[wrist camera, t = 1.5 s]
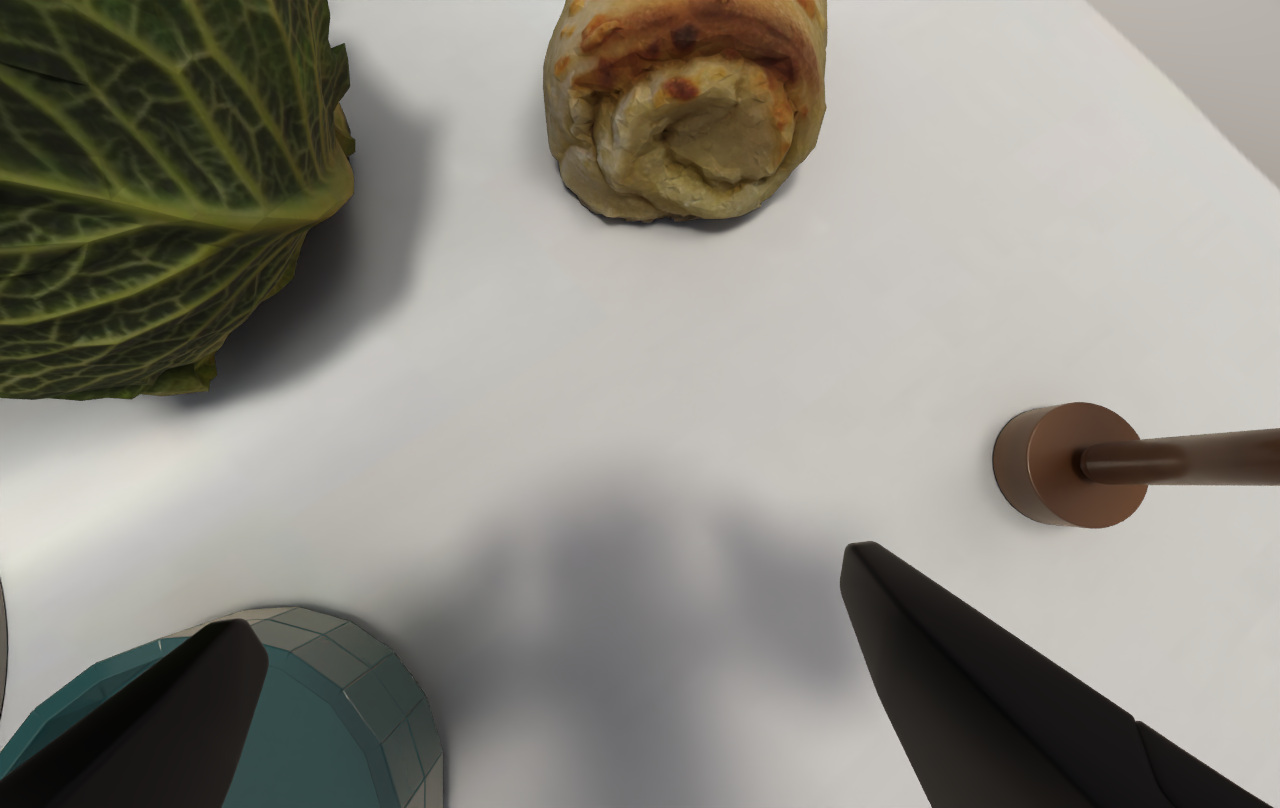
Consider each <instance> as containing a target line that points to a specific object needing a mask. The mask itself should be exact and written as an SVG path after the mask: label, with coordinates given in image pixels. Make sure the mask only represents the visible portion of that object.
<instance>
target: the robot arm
mask: <svg viewBox="0 0 1280 808" xmlns="http://www.w3.org/2000/svg"><path fill="white" fill-rule="evenodd" d="M840 590H841V594H842V598H843V601H844V603H845V606H846V609H847V612H848V614H849V617H850V620H851V623H852V625H853V628H854V631H855V634H856V636H857V639H858V642H859V645H860V648H861V650H862V653H863V656H864V659H865V661H866V664H867V667H868V670H869V672H870V675H871V678H872V680H873V683H874V686H875V688H876V691H877V693H878V696H879V698H880V700H881V702H882V704H883V707H884V709H885V711H886V713H887V715H888V717H889V719H890V721H891V724H892V726H893V728H894V730H895V732H896V734H897V736H898V738H899V740H900V742H901V744H902V746H903V748H904V750H905V753H906V755H907V757H908V759H909V761H910V763H911V765H912V767H913V769H914V771H915V773H916V775H917V777H918V780H919V782H920V784H921V786H922V788H923V790H924V792H925V794H926V796H927V798H928V800H929V802H930V804H931V806H932V808H1273V807H1272V806H1270V805H1268V804H1267V803H1265V802H1264V801H1262V800H1260V799H1259V798H1257V797H1256V796H1254V795H1252V794H1251V793H1249V792H1247V791H1246V790H1244V789H1243V788H1241V787H1239V786H1238V785H1236V784H1235V783H1233V782H1232V781H1230V780H1229V779H1227V778H1226V777H1224V776H1223V775H1221V774H1220V773H1218V772H1217V771H1215V770H1214V769H1212V768H1210V767H1209V766H1207V765H1206V764H1204V763H1203V762H1201V761H1200V760H1198V759H1197V758H1195V757H1194V756H1192V755H1191V754H1189V753H1188V752H1186V751H1185V750H1183V749H1182V748H1180V747H1178V746H1177V745H1176V744H1174V743H1173V742H1171V741H1170V740H1168V739H1167V738H1165V737H1164V736H1162V735H1161V734H1159V733H1158V732H1156V731H1155V730H1153V729H1152V728H1150V727H1149V726H1147V725H1146V724H1144V723H1143V722H1141V721H1136V722H1135V720H1134V717H1133V716H1132V715H1131V714H1129V713H1128V712H1126V711H1125V710H1123V709H1122V708H1120V707H1119V706H1117V705H1116V704H1115V703H1113V702H1112V701H1110V700H1109V699H1107V698H1106V697H1104V696H1103V695H1101V694H1100V693H1098V692H1097V691H1095V690H1094V689H1092V688H1091V687H1089V686H1088V685H1086V684H1085V683H1084V682H1082V681H1081V680H1079V679H1078V678H1076V677H1075V676H1073V675H1072V674H1070V673H1069V672H1067V671H1066V670H1064V669H1063V668H1061V667H1060V666H1058V665H1057V664H1055V663H1054V662H1052V661H1051V660H1050V659H1048V658H1047V657H1045V656H1044V655H1042V654H1041V653H1039V652H1038V651H1036V650H1035V649H1033V648H1032V647H1030V646H1029V645H1027V644H1026V643H1024V642H1023V641H1021V640H1020V639H1018V638H1017V637H1016V636H1014V635H1013V634H1011V633H1010V632H1008V631H1007V630H1005V629H1004V628H1002V627H1001V626H999V625H998V624H996V623H995V622H993V621H992V620H990V619H989V618H987V617H986V616H985V615H983V614H982V613H980V612H979V611H977V610H976V609H974V608H973V607H971V606H970V605H968V604H967V603H965V602H964V601H962V600H961V599H959V598H958V597H956V596H955V595H953V594H952V593H951V592H949V591H948V590H946V589H945V588H943V587H942V586H940V585H939V584H937V583H936V582H934V581H933V580H931V579H930V578H928V577H927V576H925V575H924V574H922V573H921V572H919V571H918V570H917V569H915V568H914V567H912V566H911V565H909V564H908V563H906V562H905V561H903V560H902V559H900V558H899V557H897V556H896V555H894V554H893V553H891V552H890V551H888V550H887V549H885V548H884V547H883V546H881V545H880V544H878V543H876V542H873V541H867V542H858V543H851V544H848V545H847V547H846V548H845V551H844V558H843V564H842V570H841V577H840ZM268 666H269V657H268V653H267V651H266V649H265V647H264V646H263V644H262V643H261V641H260V640H259V638H258V636H257V635H256V633H255V632H254V630H253V629H252V627H251V625H250V624H249V623H248V621H246V620H244V619H242V618H235V619H227V620H219V621H214V622H211V623H209V624H207V625H206V626H204V627H203V628H202V629H200V630H199V631H198V632H196V633H195V634H194V635H192V636H191V637H190V638H188V639H187V640H186V641H184V642H183V643H182V644H180V645H179V646H178V647H176V648H175V649H174V650H172V651H171V652H170V653H168V654H167V655H166V656H164V657H163V658H162V659H161V660H159V661H158V662H157V663H155V664H154V665H153V666H151V667H150V668H149V669H147V670H146V671H145V672H143V673H142V674H141V675H139V676H138V677H137V678H135V679H134V680H133V681H131V682H130V683H129V684H127V685H126V686H125V687H123V688H122V689H121V690H119V691H118V692H117V693H115V694H114V695H113V696H111V697H110V698H109V699H107V700H106V701H105V702H103V703H102V704H101V705H99V706H98V707H97V708H95V709H94V710H93V711H91V712H90V713H89V714H87V715H86V716H85V717H83V718H82V719H81V720H80V721H78V722H77V723H76V724H74V725H73V726H72V727H70V728H69V729H68V730H66V731H65V732H64V733H62V734H61V735H60V736H58V737H57V738H56V739H54V740H53V741H52V742H50V743H49V744H48V745H46V746H45V747H44V748H42V749H41V750H40V751H38V752H37V753H36V754H34V755H33V756H32V757H30V758H29V759H28V760H26V761H25V762H24V763H22V764H21V765H20V766H18V767H17V768H16V769H14V770H13V771H12V772H10V773H9V774H8V775H6V776H5V777H4V778H3V779H1V780H0V808H222V806H223V803H224V801H225V798H226V796H227V793H228V791H229V788H230V786H231V783H232V780H233V777H234V774H235V772H236V769H237V766H238V763H239V760H240V757H241V754H242V751H243V747H244V744H245V741H246V738H247V735H248V732H249V728H250V725H251V722H252V719H253V716H254V713H255V709H256V706H257V703H258V700H259V697H260V694H261V690H262V687H263V684H264V681H265V678H266V675H267V671H268Z"/></svg>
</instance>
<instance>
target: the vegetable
mask: <svg viewBox="0 0 1280 808" xmlns="http://www.w3.org/2000/svg"><path fill="white" fill-rule="evenodd" d="M329 23H330V12H329V7H328V1H327V0H0V398H10V399H30V400H34V399H44V398H54V399H66V400H78V401H83V400H92V399H100V398H120V399H133V398H135V397H136V396H138V395H139V394H143V395H155V396H168V395H177V394H186V393H195V392H204V391H209V388H210V381H211V380H212V379H213V378H215V377H216V376H217V370H216V364H215V357H214V355H215V353H216V352H217V351H218V349H220V348H221V347H222V345H223V343H224V341H225V340H226V338H227V337H228V336H229V334H230V333H231V332H232V331H233V330H235V329H236V328H237V327H238V326H240V325H241V324H242V323H244V322H245V321H246V319H247V318H248V317H249V316H250V315H251V314H252V312H253V311H254V310H255V309H256V308H257V306H258V305H259V304H260V303H261V302H263V301H264V300H266V299H268V298H269V297H271V296H273V295H274V294H276V293H278V292H279V291H280V290H281V289H282V288H284V287H285V286H286V285H287V284H288V283H289V282H290V281H291V280H292V279H293V278H294V274H295V268H296V263H297V260H298V258H299V255H300V249H301V246H302V244H303V241H304V239H305V237H306V234H307V232H308V230H309V229H310V228H312V227H314V226H316V225H317V224H319V223H321V222H322V221H324V220H326V219H328V218H329V217H331V216H333V215H334V214H335V213H336V212H337V211H338V210H339V209H340V208H341V207H342V206H343V205H344V204H345V203H346V202H347V201H348V200H349V198H350V197H351V196H352V195H353V194H354V176H353V171H352V168H351V166H350V164H349V162H348V161H349V157H348V156H350V155H351V154H353V153H354V152H355V139H353V138H352V137H351V136H350V134H351V132H350V129H349V126H348V123H347V120H346V118H345V115H344V112H343V110H342V108H341V106H340V104H339V101H340V100H341V98H342V97H343V96H344V94H345V93H346V92H347V90H348V89H349V87H350V77H349V65H348V57H347V53H346V48H345V43H343V44H341V45H338V46H336V47H333V48H331V47H330V44H329V41H328V35H329Z"/></svg>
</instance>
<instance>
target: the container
mask: <svg viewBox="0 0 1280 808" xmlns="http://www.w3.org/2000/svg"><path fill="white" fill-rule="evenodd" d="M6 661H7V631H6V618H5V608H4V601H3V594H2V589H1V585H0V713H1V707H2V701H3V695H4V687H5V677H6Z"/></svg>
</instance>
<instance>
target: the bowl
mask: <svg viewBox="0 0 1280 808" xmlns="http://www.w3.org/2000/svg"><path fill="white" fill-rule="evenodd" d="M235 618H242V619H244V620H246V621H248V623H249V624H250V625H251V627H252V629H253V630H254V632H255V633H256V635H257V636H258V638H259V640H260V641H261V643H262V644H263V646H264V647H265V649H266V651H267V653H268V657H269V666H268V671H267V675H266V678H265V681H264V684H263V687H262V690H261V694H260V697H259V700H258V703H257V706H256V709H255V713H254V716H253V719H252V722H251V725H250V728H249V732H248V735H247V738H246V741H245V744H244V747H243V751H242V754H241V757H240V760H239V763H238V766H237V769H236V772H235V774H234V777H233V780H232V783H231V786H230V788H229V791H228V793H227V796H226V798H225V801H224V803H223V806H222V808H443V752H442V750H443V749H442V745H441V742H440V739H439V736H438V733H437V729H436V726H435V723H434V720H433V716H432V713H431V710H430V707H429V704H428V700H427V697H425V694H424V693H423V691H422V690H421V688H420V687H419V686H418V684H417V683H416V681H415V680H414V679H413V677H412V676H411V674H410V673H409V672H408V670H407V669H406V668H405V666H404V665H403V663H402V662H401V661H400V659H399V658H398V656H397V655H396V654H395V653H393V650H391V649H390V648H388V647H387V646H385V645H384V644H382V643H381V642H380V641H378V640H377V639H375V638H374V637H372V636H371V635H370V634H368V633H367V632H365V631H364V630H362V629H361V628H360V627H358V626H357V625H355V624H354V623H352V622H349V621H348V620H344V619H341V618H337V617H333V616H330V615H326V614H322V613H319V612H315V611H312V610H308V609H304V608H301V607H300V608H299V607H286V608H269V609H253V610H244V611H240V612H237V613H234V614H231V615H228V616H225V617H222V618H219V619H216V620H213V621H210V622H207V623H204V624H201V625H198V626H195V627H192V628H189V629H186V630H183V631H180V632H177V633H174V634H171V635H168V636H165V637H162V638H159V639H157V640H154V641H151V642H149V643H146V644H144V645H141V646H138V647H136V648H133V649H131V650H128V651H125V652H123V653H120V654H118V655H115V656H112V657H110V658H107V659H104V660H102V661H99V662H97V663H95V664H94V665H92V666H90V667H89V668H88V669H86V670H85V671H84V672H82V673H81V674H80V675H79V676H77V677H76V678H75V679H73V680H72V681H71V682H69V683H68V684H67V685H65V686H64V687H63V688H61V689H60V690H59V691H57V692H56V693H55V694H53V695H52V696H51V697H49V698H48V699H47V700H45V701H44V702H43V703H41V704H40V705H39V706H37V707H36V708H35V710H33V711H32V712H31V714H30V715H29V716H28V717H27V719H26V720H25V721H24V723H23V724H22V725H21V726H20V728H19V729H18V730H17V732H16V733H15V734H14V736H13V737H12V738H11V739H10V741H9V742H8V743H7V745H6V746H5V747H4V748H3V750H2V751H1V752H0V780H1V779H3V778H4V777H5V776H6V775H8V774H9V773H10V772H12V771H13V770H14V769H16V768H17V767H18V766H20V765H21V764H22V763H24V762H25V761H26V760H28V759H29V758H30V757H32V756H33V755H34V754H36V753H37V752H38V751H40V750H41V749H42V748H44V747H45V746H46V745H48V744H49V743H50V742H52V741H53V740H54V739H56V738H57V737H58V736H60V735H61V734H62V733H64V732H65V731H66V730H68V729H69V728H70V727H72V726H73V725H74V724H76V723H77V722H78V721H80V720H81V719H82V718H83V717H85V716H86V715H87V714H89V713H90V712H91V711H93V710H94V709H95V708H97V707H98V706H99V705H101V704H102V703H103V702H105V701H106V700H107V699H109V698H110V697H111V696H113V695H114V694H115V693H117V692H118V691H119V690H121V689H122V688H123V687H125V686H126V685H127V684H129V683H130V682H131V681H133V680H134V679H135V678H137V677H138V676H139V675H141V674H142V673H143V672H145V671H146V670H147V669H149V668H150V667H151V666H153V665H154V664H155V663H157V662H158V661H159V660H161V659H162V658H163V657H164V656H166V655H167V654H168V653H170V652H171V651H172V650H174V649H175V648H176V647H178V646H179V645H180V644H182V643H183V642H184V641H186V640H187V639H188V638H190V637H191V636H192V635H194V634H195V633H196V632H198V631H199V630H200V629H202V628H203V627H204V626H206V625H207V624H209V623H211V622H214V621H219V620H227V619H235Z"/></svg>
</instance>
